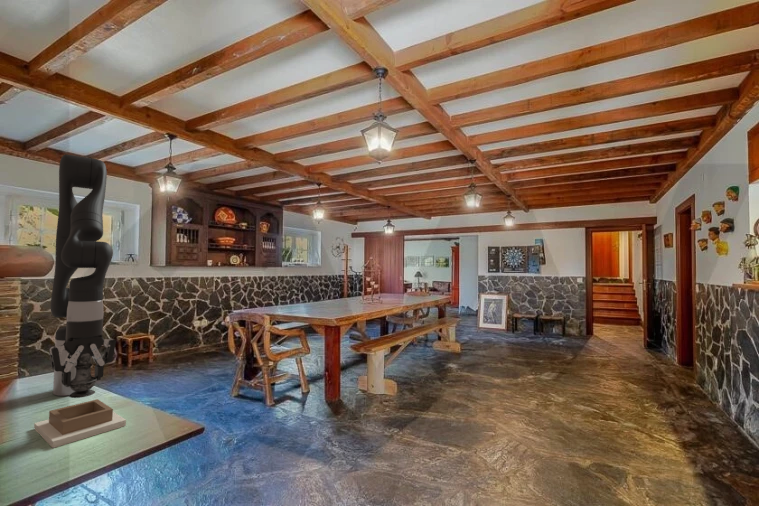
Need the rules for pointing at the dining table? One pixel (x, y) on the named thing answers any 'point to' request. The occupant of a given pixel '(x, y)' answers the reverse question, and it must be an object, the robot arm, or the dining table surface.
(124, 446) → the dining table surface
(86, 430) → the shaker stand
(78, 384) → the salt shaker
